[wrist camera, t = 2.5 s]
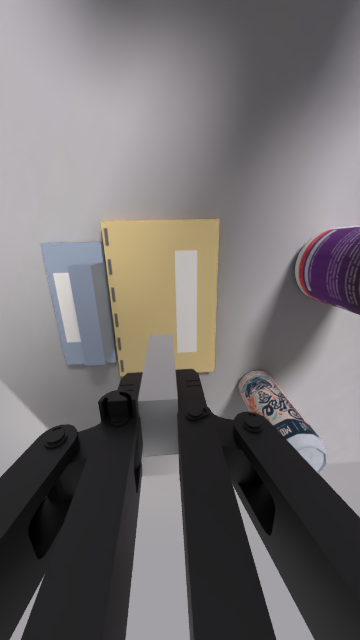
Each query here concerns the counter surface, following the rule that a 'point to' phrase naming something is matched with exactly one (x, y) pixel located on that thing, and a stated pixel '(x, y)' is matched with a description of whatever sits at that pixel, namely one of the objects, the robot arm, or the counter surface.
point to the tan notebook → (163, 288)
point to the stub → (81, 301)
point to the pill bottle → (332, 268)
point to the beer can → (282, 416)
